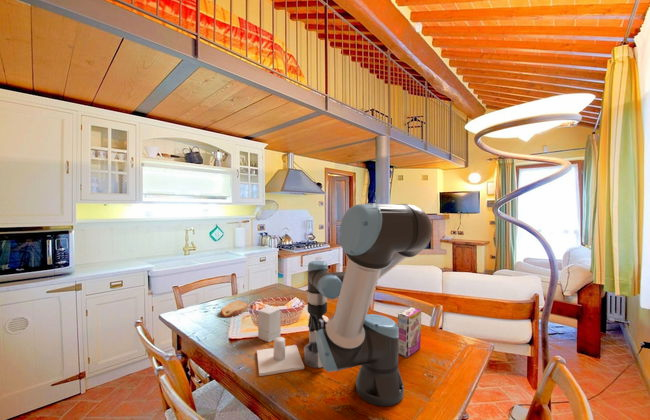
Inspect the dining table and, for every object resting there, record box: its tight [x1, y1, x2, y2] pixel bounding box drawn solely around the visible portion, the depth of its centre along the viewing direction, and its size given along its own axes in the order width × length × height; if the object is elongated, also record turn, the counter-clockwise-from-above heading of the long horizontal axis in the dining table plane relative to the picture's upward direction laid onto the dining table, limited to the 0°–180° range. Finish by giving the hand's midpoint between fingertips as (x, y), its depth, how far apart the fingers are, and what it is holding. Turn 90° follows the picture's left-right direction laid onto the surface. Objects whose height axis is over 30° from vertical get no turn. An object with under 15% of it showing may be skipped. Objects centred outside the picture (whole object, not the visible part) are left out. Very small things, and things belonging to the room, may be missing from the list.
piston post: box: [256, 336, 305, 377], centre depth 106 cm, size 16×16×8 cm
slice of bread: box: [219, 300, 248, 319], centre depth 156 cm, size 18×18×4 cm
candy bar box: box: [397, 306, 422, 359], centre depth 113 cm, size 11×5×16 cm, turn 134°
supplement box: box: [257, 305, 282, 343], centre depth 124 cm, size 7×7×13 cm
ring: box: [303, 341, 321, 369], centre depth 106 cm, size 10×10×5 cm
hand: (317, 356), depth 106 cm, fingers open, 13 cm apart
